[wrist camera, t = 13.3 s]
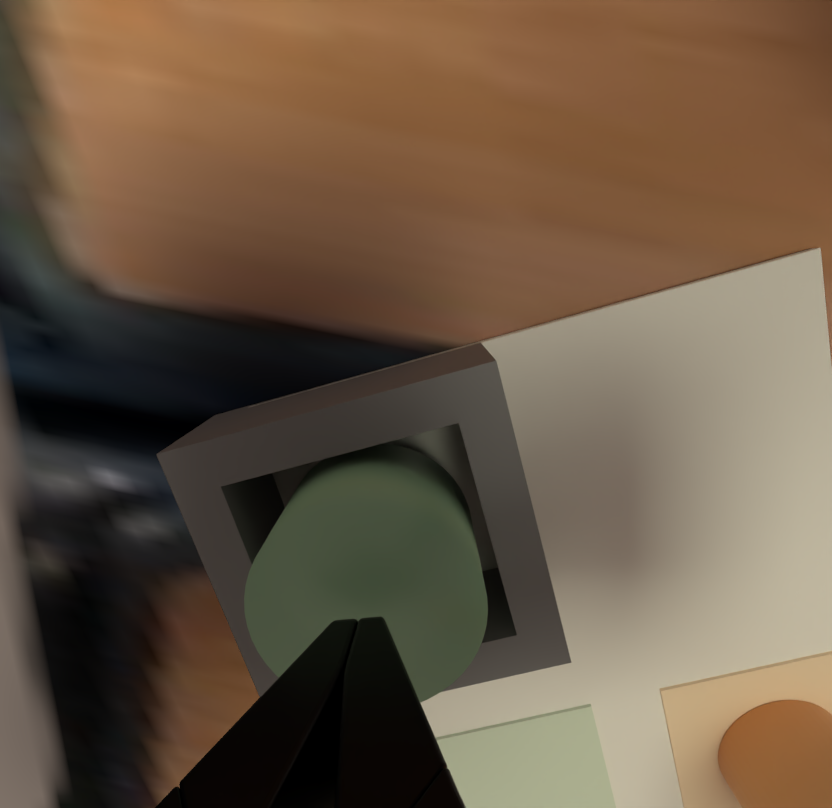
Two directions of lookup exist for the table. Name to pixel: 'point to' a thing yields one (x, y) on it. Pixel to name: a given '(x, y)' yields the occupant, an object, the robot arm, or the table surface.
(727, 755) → the tan cylindrical piece
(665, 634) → the sheet
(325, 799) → the robot arm
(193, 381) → the table surface
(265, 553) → the button
